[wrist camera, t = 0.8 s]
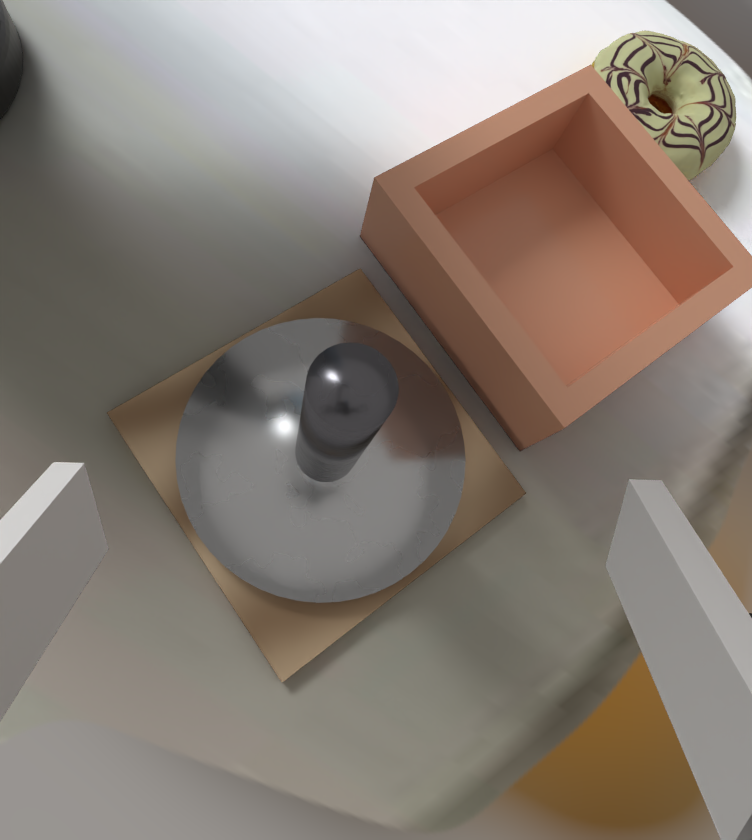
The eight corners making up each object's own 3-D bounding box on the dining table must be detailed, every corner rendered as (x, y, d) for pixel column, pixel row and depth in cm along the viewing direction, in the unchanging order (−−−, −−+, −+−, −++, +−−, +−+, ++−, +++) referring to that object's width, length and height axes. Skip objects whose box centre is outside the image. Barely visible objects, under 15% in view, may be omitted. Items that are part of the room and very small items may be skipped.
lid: (120, 415, 30) (29, 319, 19) (358, 279, 34) (398, 133, 23) (284, 667, 28) (291, 725, 17) (513, 490, 33) (639, 445, 21)
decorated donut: (554, 159, 40) (582, 117, 36) (589, 46, 43) (617, -2, 40) (693, 217, 41) (733, 182, 37) (717, 101, 44) (757, 59, 40)
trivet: (109, 415, 31) (106, 412, 30) (358, 273, 35) (360, 268, 35) (281, 680, 29) (282, 682, 28) (522, 494, 33) (526, 493, 33)
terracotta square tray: (359, 236, 36) (374, 177, 31) (549, 131, 40) (590, 64, 35) (519, 451, 34) (564, 428, 29) (700, 316, 38) (768, 275, 33)
